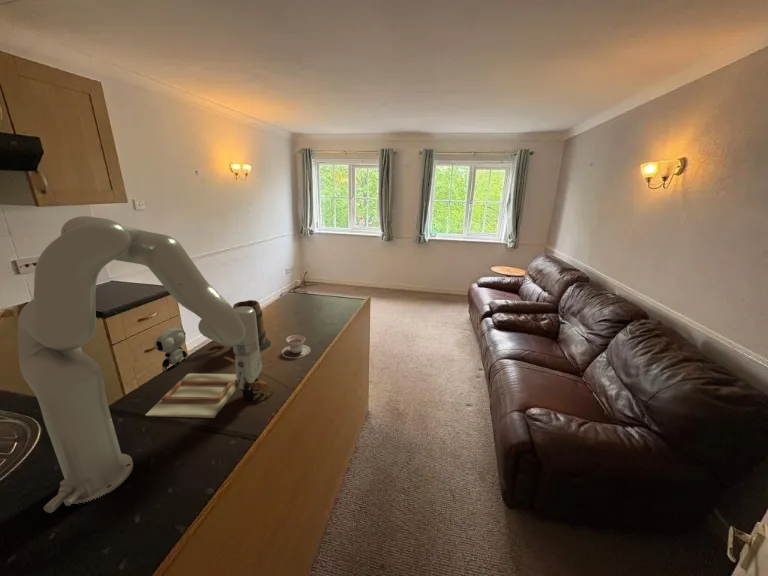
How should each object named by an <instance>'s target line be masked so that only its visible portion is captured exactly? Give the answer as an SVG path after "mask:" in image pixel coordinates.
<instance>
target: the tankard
mask: <svg viewBox="0 0 768 576" xmlns="http://www.w3.org/2000/svg"><path fill="white" fill-rule="evenodd" d="M243 306H248V307H252V308H253V309H254V310H255V312H256V321H257V331H258V341H259V349H260V352H262V351H265V350H267V349H268V348H269V347H271V345H272V342H271V341H270V340H269V339H268V338H267V337H266V334H267V333H266V330H265V326H264V320H263V318H264V317H263V314H264V313H263V310H262V309H261V306H260V302H259V301H257V300H255V299H254V300H253V299H249V300H244V301H238V302H236V303H234V304H233V306H232V308H233V309H234V308H237V307H243ZM229 351H233V346H230V348H229Z"/></svg>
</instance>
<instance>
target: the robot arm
mask: <svg viewBox="0 0 768 576" xmlns="http://www.w3.org/2000/svg"><path fill="white" fill-rule="evenodd" d="M183 247H184V246H182V245H181V244H180V242H179V241H178V240H177V239H175V238H174V237H172V236H170V235H168V234H167V235H166V234H162V233H157V232H151V231H148V230H147V231H146V230H141V229H137V228H133V227H129V226H125V225H122V224H121V223H119V222H117V221H115V220H112V219H108V218H102V217H95V216H87V215H82V216H76V217H72V218H71V219H68V220H67V221H66V222H65V223H64V224H63V225H62V228H61V230H60V235H59V236H58V237H57V238H55V239H54V240H52V242H51V243H49V244H48V245H47V246H46V248H45V249H44V250H43V251H42V253H41V254H40V255H39V258H38V259H37V261H36V265H35V269H34V278H33V279H34V280H33V282H34V283H33V299H32V300H30V301H28V302H27V303H26V304H25V305H24V307H22V308H21V310H20V312H19V316H18V321H17V330H18V331H17V335H18V336H17V337H18V360H19V370H20V373H21V375H22V377H23V380H25V382H26V383H27V384H28V386H29V388H30V389H31V390H32V392H33V394H34V395H35V397H36V399H37V402H38V404H39V407H40V411H41V415H42V418H43V419H42V420H43V422H44V425H45V428H46V431H47V434H48V436H49V438H50V441H51V444H52V447H53V449H54V453H55V456H56V457H57V458H56V459H57V461H58V464H59V466H60V470H61V472H62V476H63V477H64V479H63V480H61V481H60V482H59V485H60V487H59V489H58V491H57V495H55V496H54V497H53V498H52V499H51V500H49V501H48V502H47V503H46V504H45V505H44V506H43V510H44V511H45V512H46V513H49V514H51V513H53V512H55V510H57V509H58V507H59V506H61V505H62V503H63V502H64V503H63V504H64V505H65V506H66V507H69V506H72V505H71V504H78V505H80V504H79V503H83V502H84V503H83V504H86V503H85V502H87V503H89V502H88V501H90V502H92V501H91V500H93V499H95V500H97V499H96V498H98V499H100V498H102V497H104V496H106V495H108V494H109V493H111V492H113V491H114V490H116V488H118V487H119V486H121V485H122V484H123V483H124V482H125V480H126V479H127V478H128V477H130V474H131V473H132V471H133V468H134V462H133V459H132V458H133V457H131V456H130V455H129V454H127V453H126V454H125V453H122V451H121V447H120V444H119V440H118V437H117V433H116V430H115V426H114V423H113V419H112V416H111V412H110V407H109V404H108V400H107V395H106V388H105V379H104V374H103V372H102V370H101V368H100V366H99V365H98V364H97V362H96V361H95V360H94V359H92V358H91V357H90V356H89V355H87V354H86V353H84V352H83V349H82V348H83V346H84V345H86V344H87V343H89V342H90V341H91V340H92V338H93V337H94V335H95V332H96V329H97V316H96V312H97V310H96V306H97V305H96V304H97V303H96V302H97V299H96V292H97V280H98V277H99V275H100V273H101V271H102V270H103V269H104V267H106V266H107V265H108V264H109V263H111V262H112V261H117V262H118V261H120V262H125V263H130V264H136V265H142V266H146V267H147V268H148V269H149V270H150V271H151V273H152V274H153V275H154V276H155V277H156V279H157V280H158V281H159V283H161V285H162V286H163V287H164V288H165V289H166V291H167V293H169V295H170V296H171V297H172V298H173V299H174V300H175V302H177V303H178V304H179V305H181V306H182V307H184V308H185V309H187V310H189V311H190V313H193V314H195V315H196V316H197V317H199V318H200V320H199V322H198V324H197V325H198V327H197V328H198V331H199V333H200V334H201V335H202V336H203V337H205V338H206V339H207V338H208V339H209V340H212V341H214V342H216V343H219V344H220V345H222V346H226V347H231V346H233V350H232V351H233V354H234V359H235V360H234V365H235V366H234V368H235V374H236V378H237V382H238V383H239V389H242V391H241V392H242V396H243V397H242V398H243V400H244V401H254V399H255V395H254V392H259V391H260V389H257V390H253V388H252V383H253V382H254V381H259V375H260V373H261V371H262V370H263V362H262V361H263V360H262V354H261V351H260V349H259V341H258V331H257V321H256V312H255V310H254V309H253V308H252V307H248V306H243V307H237V308H234V309H233V306H232V305H231V303H229V302H228V301H227V300H226V299H225V298H224V297H223V296H222V295H221V293H219V292H218V291H217V289H215V288H214V287H213V286H212V285H211V283H209V282H208V281H207V280H206V279H205V277H204V275H203V274H202V273H201V271H200V269H198V267H197V266H196V264H195V263H194V261H193V260H192V258H191V257H190V256H189V254H188V253H187V251H186V250H185V248H183ZM245 379H246V380H245ZM245 383H248V385H245ZM107 493H108V494H107ZM105 494H106V495H105ZM103 495H104V496H103ZM101 496H102V497H101ZM99 497H100V498H99ZM93 501H94V500H93Z"/></svg>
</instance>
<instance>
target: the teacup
mask: <svg viewBox="0 0 768 576" xmlns="http://www.w3.org/2000/svg"><path fill="white" fill-rule="evenodd" d="M285 341H286V343H287V344H288V346H286V347H285V348H283V349H282V350H281V355H282V356H283V357H284V358H288V359H299V358H304V357H306V356H308V355H309V354H310V353H311V348H310V346H308V345H305V344H304V342H305V341H306V337H305V336H304V335H302V334H293V335H289V336H288V337H286V339H285ZM286 350H289V351H290V352H292V353H293V354H300V355H299V356H296V357H295V356H294V357H290V356H286V355H285V354H284V352H285V351H286Z"/></svg>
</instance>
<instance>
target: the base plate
mask: <svg viewBox="0 0 768 576" xmlns="http://www.w3.org/2000/svg"><path fill="white" fill-rule="evenodd" d="M236 379H237V378H236V373H187V374H186V375H185V376H184V377H183V378H181V380H179V381H178V382H177V383H176V384H175V385H174V386H173V387H172V388H171V389H170V390H169V391H167V393H165V394H164V395H163V396H162V397H161V399H160V400H159V401H158V402H157V403H155V405H154V406H153V407H151V409H150V410H148V412H147V413H145V417H166V418H167V417H170V418H171V417H173V418H175V417H176V418H202V419H203V418H207V419H210V418H211V419H214V418H215V417H216V416H217V415H218V413H219V412H220V411H221V409H222V408H223V407H224V405H226V403H227V402H228V401H229V399H230V398H231V397H232V395H233V394H234V393H235V391H236V390H237V389H236V388H235V386H234V384H235V381H234V380H236Z"/></svg>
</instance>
